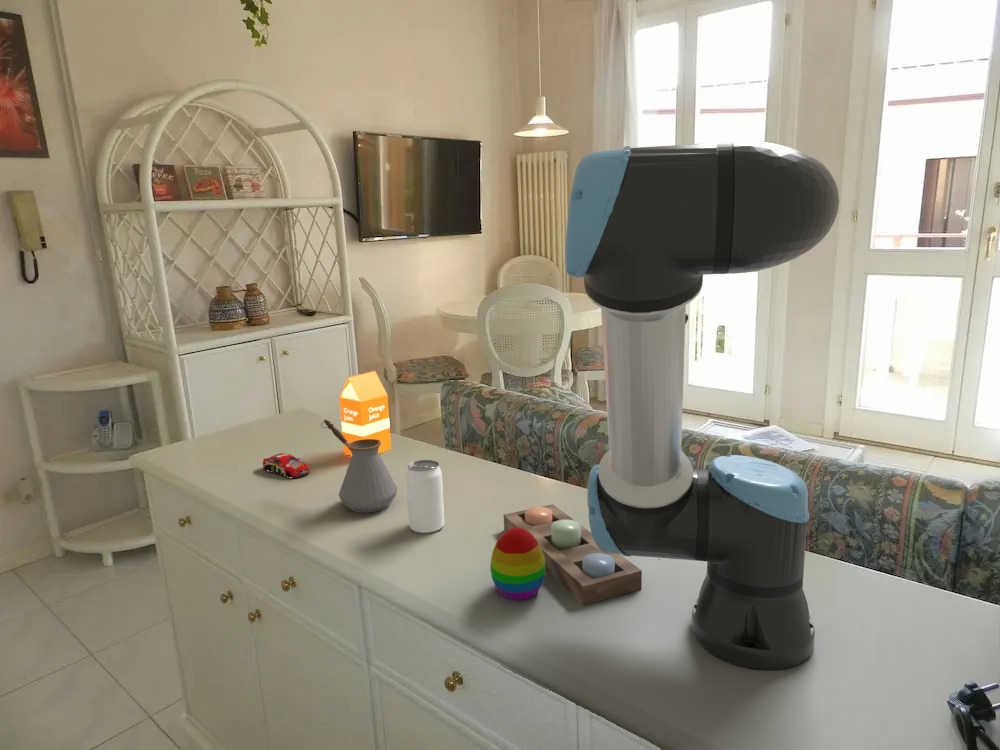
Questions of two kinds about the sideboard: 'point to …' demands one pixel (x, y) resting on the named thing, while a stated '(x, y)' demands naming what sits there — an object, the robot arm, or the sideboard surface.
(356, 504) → the coffee pot
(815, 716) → the sideboard surface
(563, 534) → the sage button
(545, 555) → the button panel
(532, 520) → the terracotta button
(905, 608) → the sideboard surface
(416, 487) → the can
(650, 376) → the robot arm
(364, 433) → the orange juice
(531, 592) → the decorative egg
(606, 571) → the slate blue button
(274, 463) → the race car
